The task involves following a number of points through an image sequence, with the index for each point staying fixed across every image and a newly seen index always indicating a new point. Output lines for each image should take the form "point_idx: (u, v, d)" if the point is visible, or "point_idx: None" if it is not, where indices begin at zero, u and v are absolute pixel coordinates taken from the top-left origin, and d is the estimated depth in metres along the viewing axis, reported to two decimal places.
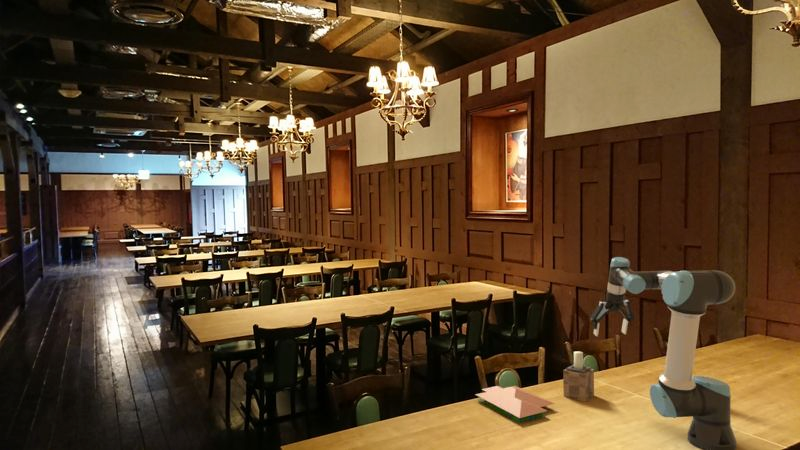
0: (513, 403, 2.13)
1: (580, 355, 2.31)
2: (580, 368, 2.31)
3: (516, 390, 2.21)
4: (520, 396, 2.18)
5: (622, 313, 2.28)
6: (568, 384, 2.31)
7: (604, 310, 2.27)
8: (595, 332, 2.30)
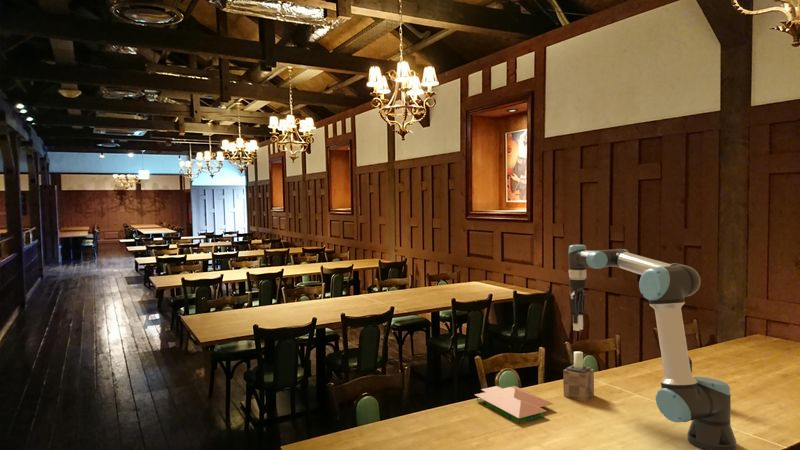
0: (512, 403, 2.13)
1: (580, 355, 2.31)
2: (580, 368, 2.31)
3: (515, 390, 2.21)
4: (519, 396, 2.18)
5: (581, 303, 2.32)
6: (568, 384, 2.31)
7: (575, 301, 2.30)
8: (576, 327, 2.31)
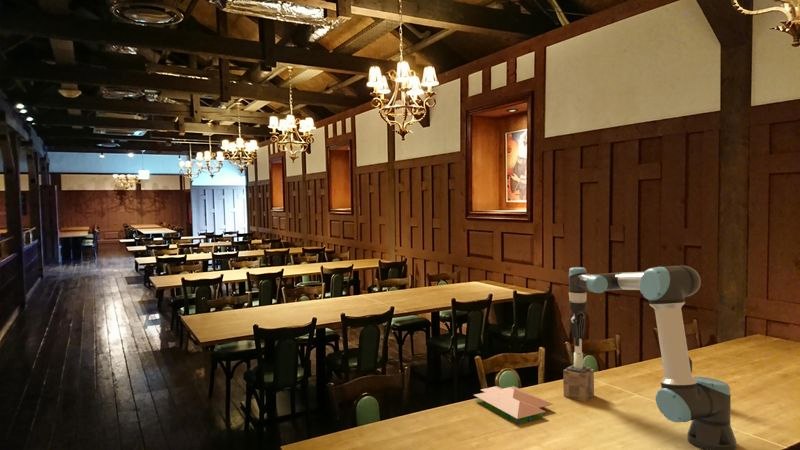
0: (511, 404, 2.12)
1: (580, 356, 2.31)
2: (580, 369, 2.31)
3: (514, 391, 2.20)
4: (518, 397, 2.17)
5: (580, 326, 2.32)
6: (568, 384, 2.31)
7: None
8: (578, 350, 2.32)
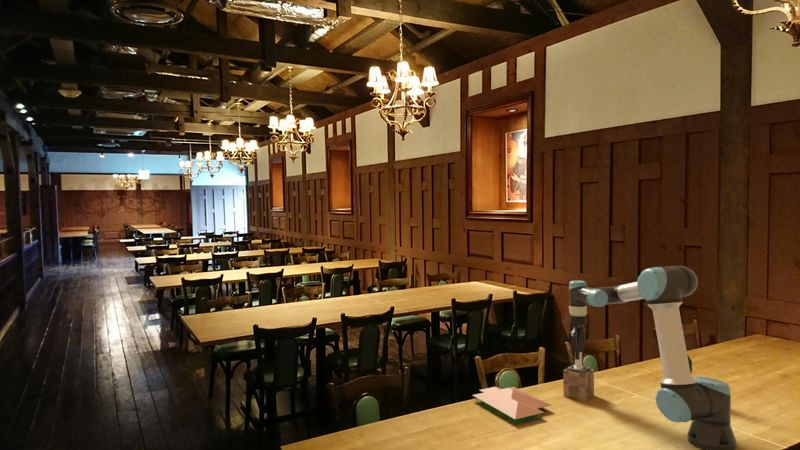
0: (509, 404, 2.12)
1: (580, 369, 2.31)
2: None
3: (513, 391, 2.20)
4: (517, 397, 2.17)
5: (580, 339, 2.32)
6: (568, 384, 2.31)
7: (576, 338, 2.31)
8: (578, 363, 2.32)
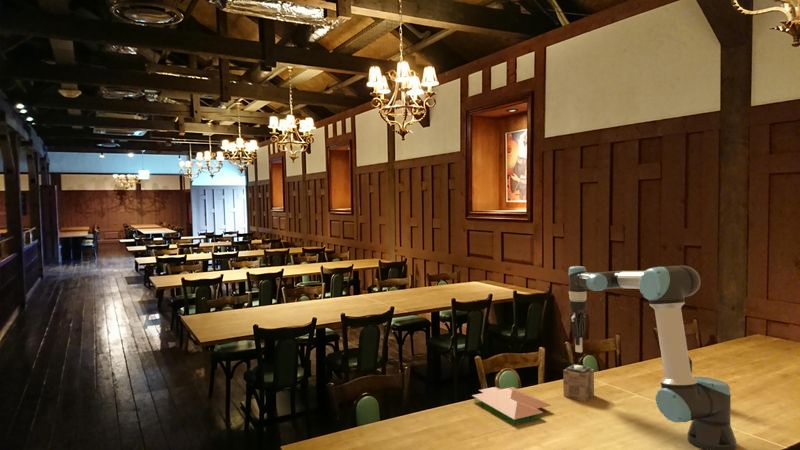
0: (508, 404, 2.12)
1: (580, 369, 2.31)
2: None
3: (512, 391, 2.20)
4: (516, 397, 2.16)
5: (581, 325, 2.32)
6: (568, 384, 2.31)
7: (576, 323, 2.31)
8: (578, 349, 2.31)
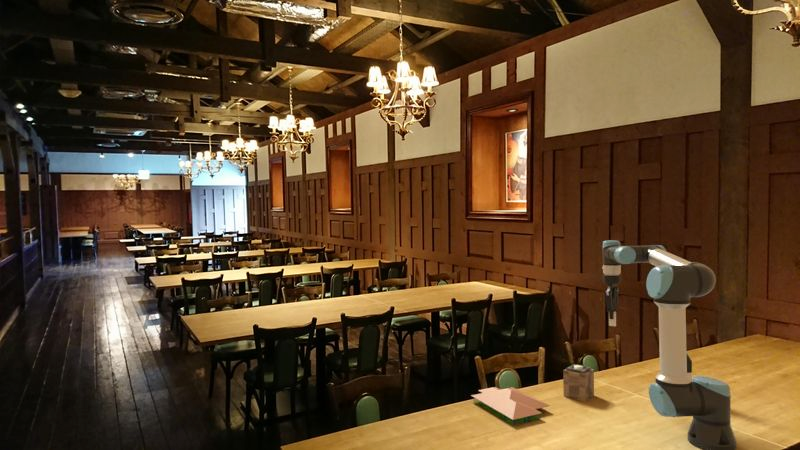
0: (507, 404, 2.11)
1: (580, 369, 2.31)
2: None
3: (511, 392, 2.19)
4: (515, 398, 2.16)
5: (614, 299, 2.32)
6: (568, 384, 2.31)
7: None
8: (612, 323, 2.31)
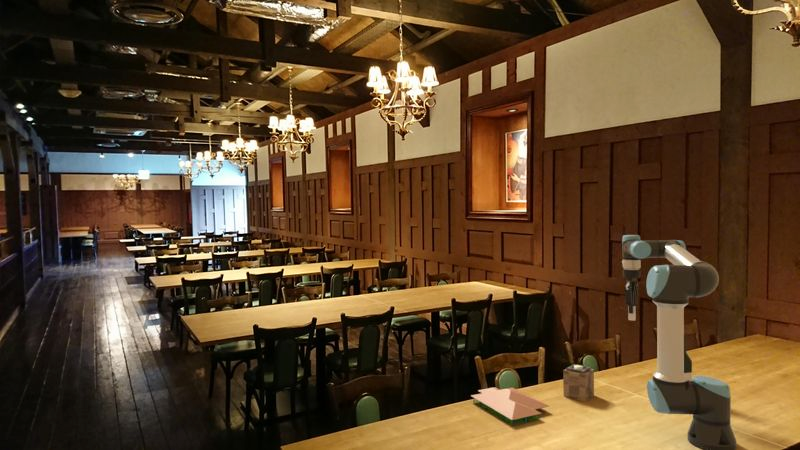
0: (506, 405, 2.11)
1: (580, 369, 2.31)
2: None
3: (511, 392, 2.19)
4: (515, 398, 2.16)
5: (634, 293, 2.32)
6: (568, 384, 2.31)
7: None
8: (632, 317, 2.32)
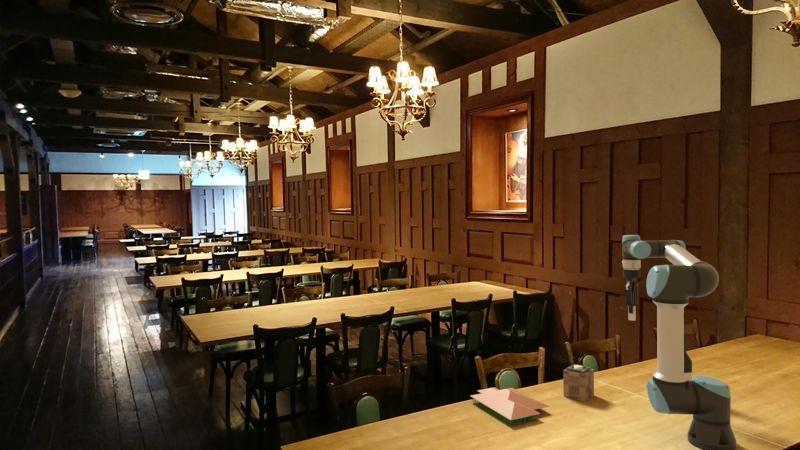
0: (506, 405, 2.11)
1: (580, 369, 2.31)
2: None
3: (510, 392, 2.19)
4: (514, 398, 2.16)
5: (634, 293, 2.32)
6: (568, 384, 2.31)
7: None
8: (632, 317, 2.32)
